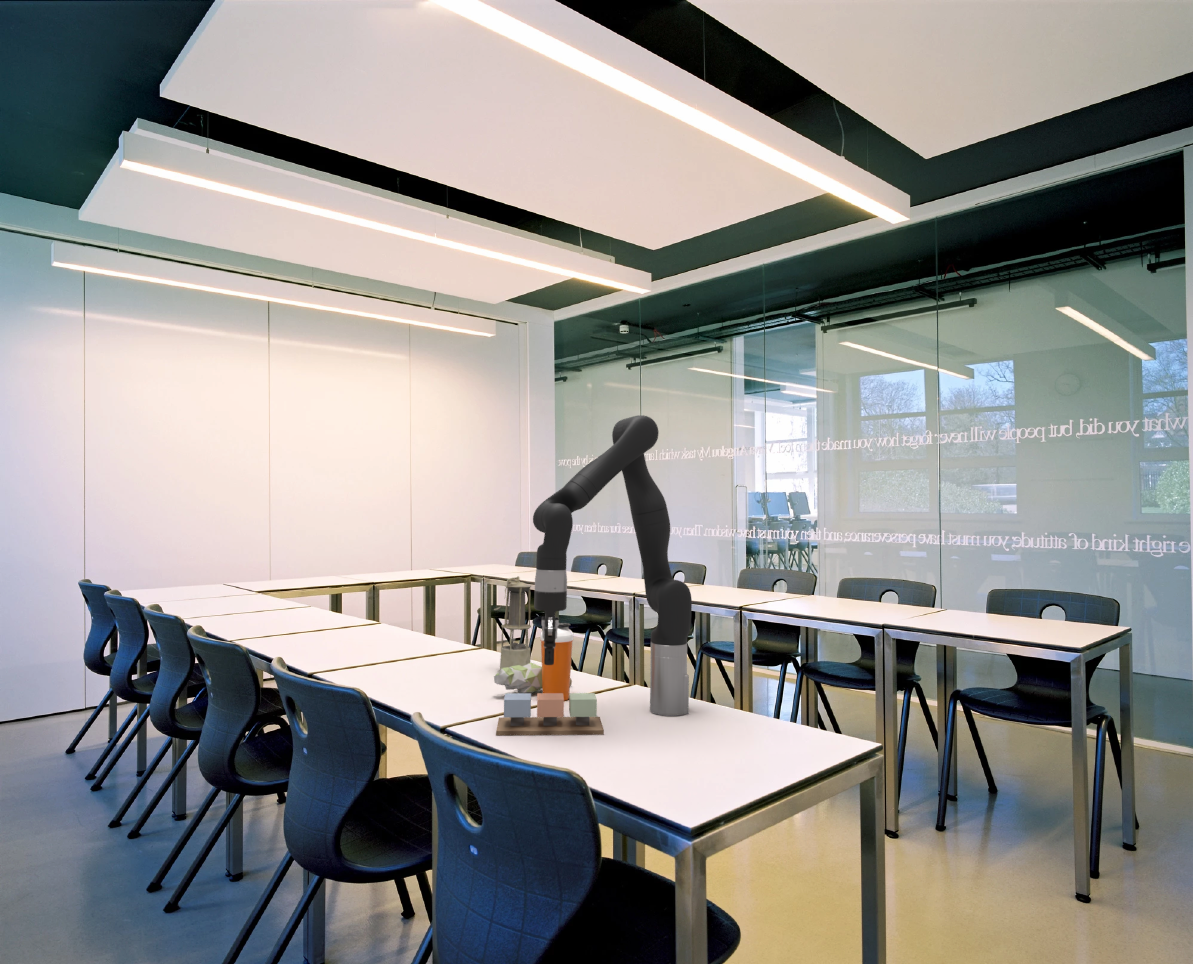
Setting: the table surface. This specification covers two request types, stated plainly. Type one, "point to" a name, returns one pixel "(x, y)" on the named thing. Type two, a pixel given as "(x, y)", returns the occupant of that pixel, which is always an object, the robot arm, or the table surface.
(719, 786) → the table surface
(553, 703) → the button terracotta
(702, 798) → the table surface
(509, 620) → the lamp
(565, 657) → the shaker bottle
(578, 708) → the button sage
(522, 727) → the board
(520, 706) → the button slate
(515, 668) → the decorative object
